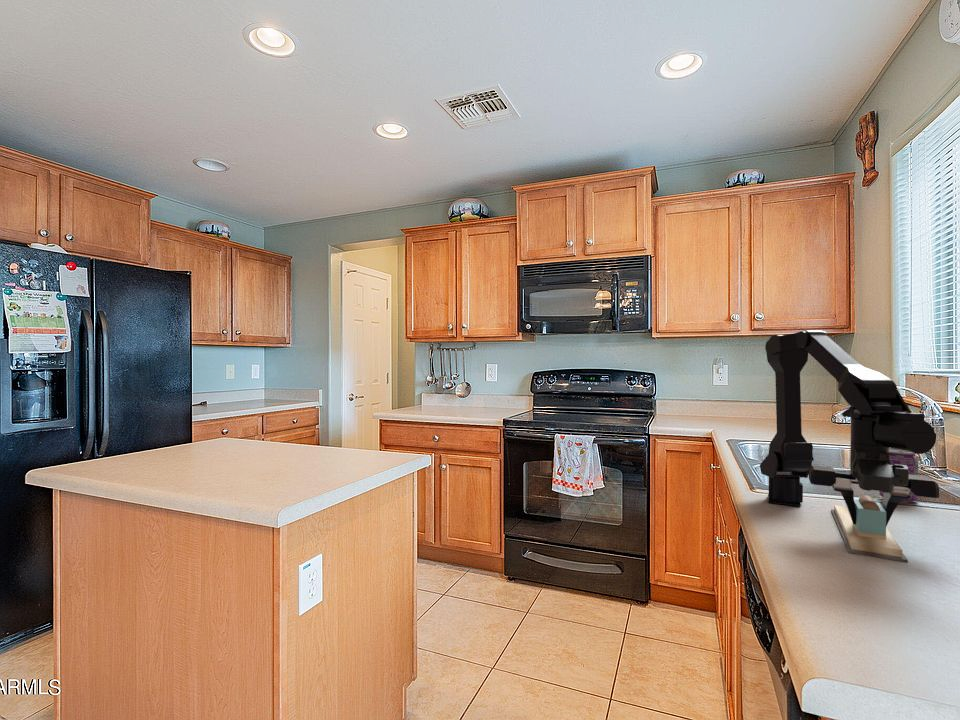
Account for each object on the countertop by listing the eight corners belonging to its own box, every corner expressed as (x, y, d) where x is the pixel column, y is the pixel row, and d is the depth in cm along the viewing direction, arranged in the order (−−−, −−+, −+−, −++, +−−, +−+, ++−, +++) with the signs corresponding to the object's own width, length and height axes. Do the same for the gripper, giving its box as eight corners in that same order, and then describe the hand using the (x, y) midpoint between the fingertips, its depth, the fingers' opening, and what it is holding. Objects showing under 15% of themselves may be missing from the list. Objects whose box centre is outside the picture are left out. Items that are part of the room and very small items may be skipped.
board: (848, 552, 87) (848, 543, 87) (831, 510, 110) (831, 503, 110) (907, 562, 83) (907, 552, 83) (876, 516, 106) (876, 509, 106)
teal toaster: (858, 535, 91) (858, 502, 91) (852, 524, 97) (852, 493, 97) (886, 539, 89) (886, 505, 89) (878, 528, 95) (878, 496, 95)
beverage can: (902, 496, 122) (903, 448, 122) (925, 504, 115) (926, 453, 115) (872, 495, 123) (872, 447, 122) (893, 504, 116) (893, 453, 115)
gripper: (813, 445, 90) (812, 530, 90) (950, 456, 81) (949, 550, 81) (808, 436, 100) (808, 513, 100) (930, 445, 91) (929, 529, 91)
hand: (868, 525), depth 93 cm, fingers closed on teal toaster, 4 cm apart
